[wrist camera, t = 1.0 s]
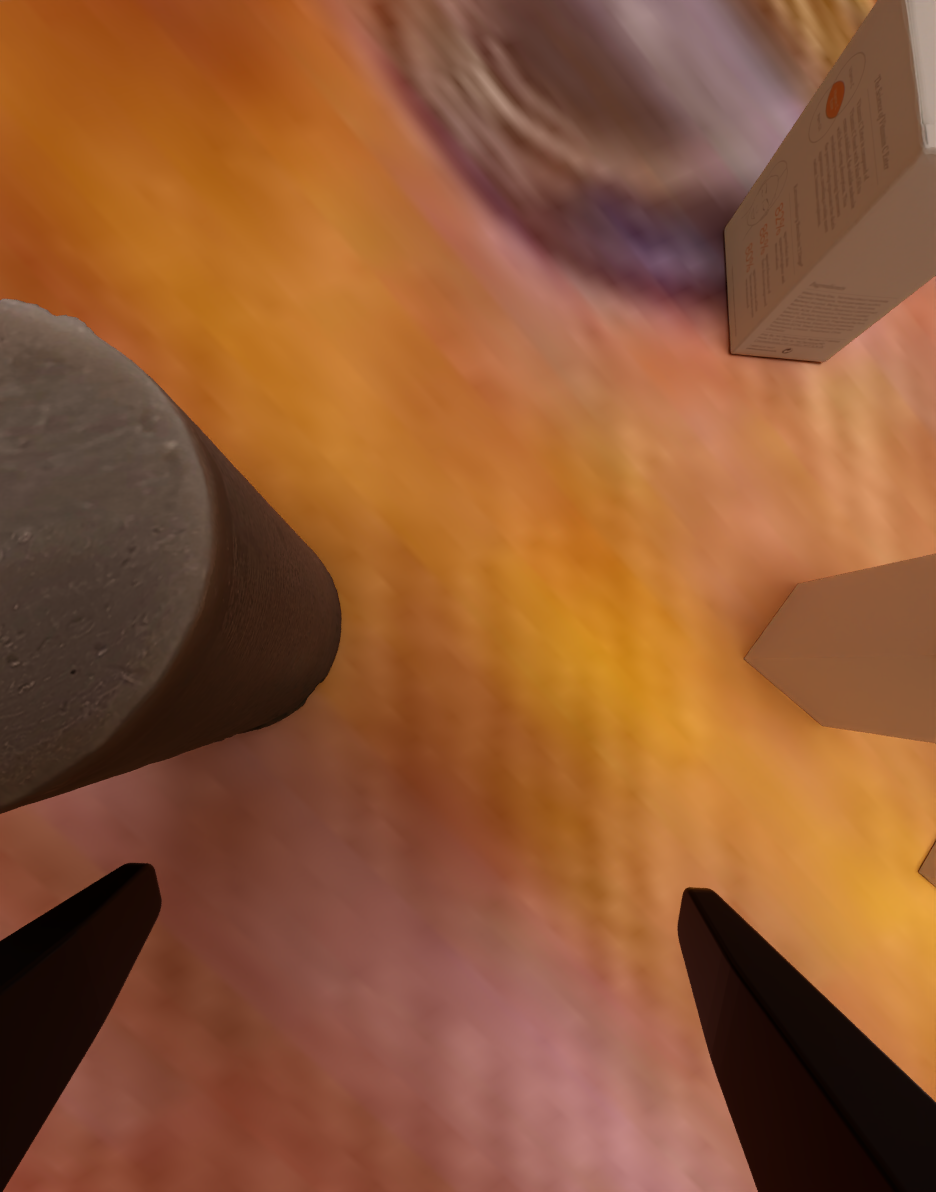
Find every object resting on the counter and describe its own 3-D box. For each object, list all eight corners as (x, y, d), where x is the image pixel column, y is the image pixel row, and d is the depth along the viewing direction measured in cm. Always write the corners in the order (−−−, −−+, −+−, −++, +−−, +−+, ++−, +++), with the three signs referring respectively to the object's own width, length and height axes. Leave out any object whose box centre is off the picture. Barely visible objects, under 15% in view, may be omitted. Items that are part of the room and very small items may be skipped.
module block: (875, 648, 24) (1243, 634, 13) (822, 727, 23) (1171, 782, 12) (797, 582, 24) (1099, 515, 13) (742, 659, 23) (1016, 653, 13)
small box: (822, 366, 26) (1082, 171, 16) (725, 356, 26) (928, 148, 15) (813, 239, 27) (1049, -20, 17) (720, 227, 27) (905, -46, 17)
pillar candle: (321, 747, 21) (88, 923, 6) (91, 718, 20) (-780, 843, 6) (359, 537, 23) (243, 287, 8) (147, 504, 22) (-412, 162, 7)
